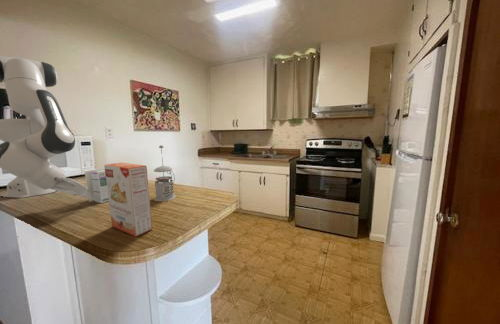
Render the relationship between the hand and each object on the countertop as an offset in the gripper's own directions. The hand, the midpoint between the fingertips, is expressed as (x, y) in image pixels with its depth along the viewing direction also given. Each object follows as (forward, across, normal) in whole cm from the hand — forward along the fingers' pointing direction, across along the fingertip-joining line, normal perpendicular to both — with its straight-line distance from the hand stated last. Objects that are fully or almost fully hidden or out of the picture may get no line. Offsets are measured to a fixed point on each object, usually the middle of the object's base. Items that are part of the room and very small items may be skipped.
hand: (82, 195), depth 87 cm
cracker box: (0, -39, +8) cm, 40 cm away
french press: (+20, -23, -13) cm, 33 cm away
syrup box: (+9, 0, -2) cm, 10 cm away
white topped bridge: (+12, +1, -5) cm, 14 cm away
